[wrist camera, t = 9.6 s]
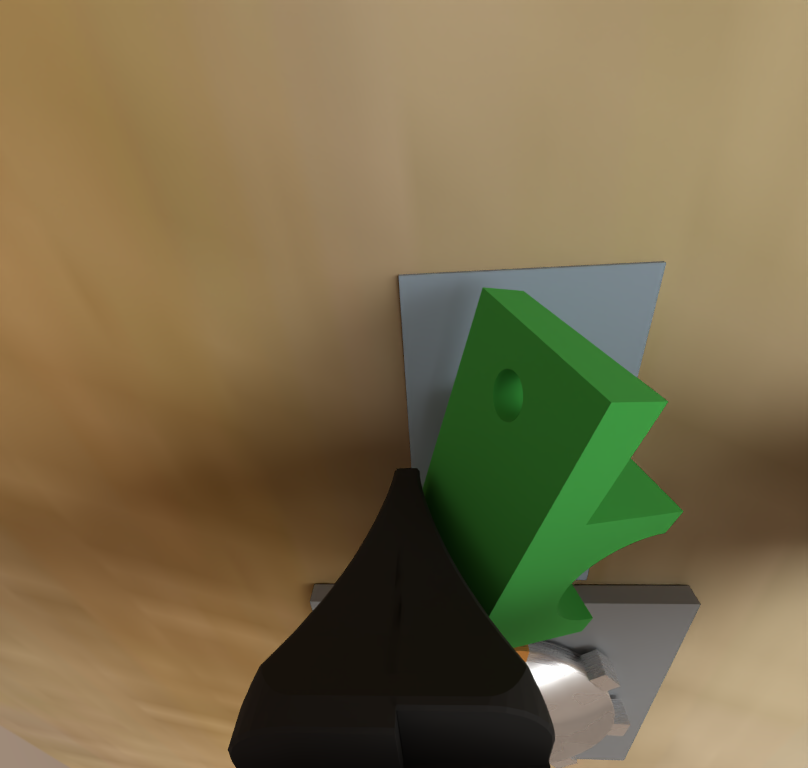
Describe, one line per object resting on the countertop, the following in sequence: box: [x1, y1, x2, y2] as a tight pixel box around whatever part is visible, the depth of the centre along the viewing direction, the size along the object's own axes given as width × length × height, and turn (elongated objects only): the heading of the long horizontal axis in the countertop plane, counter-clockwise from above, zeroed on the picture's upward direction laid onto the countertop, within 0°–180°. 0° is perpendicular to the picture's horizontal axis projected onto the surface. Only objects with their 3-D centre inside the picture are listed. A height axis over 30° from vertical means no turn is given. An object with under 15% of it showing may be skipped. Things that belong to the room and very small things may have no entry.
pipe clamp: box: [423, 287, 683, 648], centre depth 11 cm, size 11×4×5 cm, turn 169°
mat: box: [399, 261, 666, 580], centre depth 14 cm, size 7×13×1 cm, turn 4°
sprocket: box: [514, 641, 630, 768], centre depth 18 cm, size 12×12×4 cm
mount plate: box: [310, 584, 701, 760], centre depth 20 cm, size 16×15×1 cm
